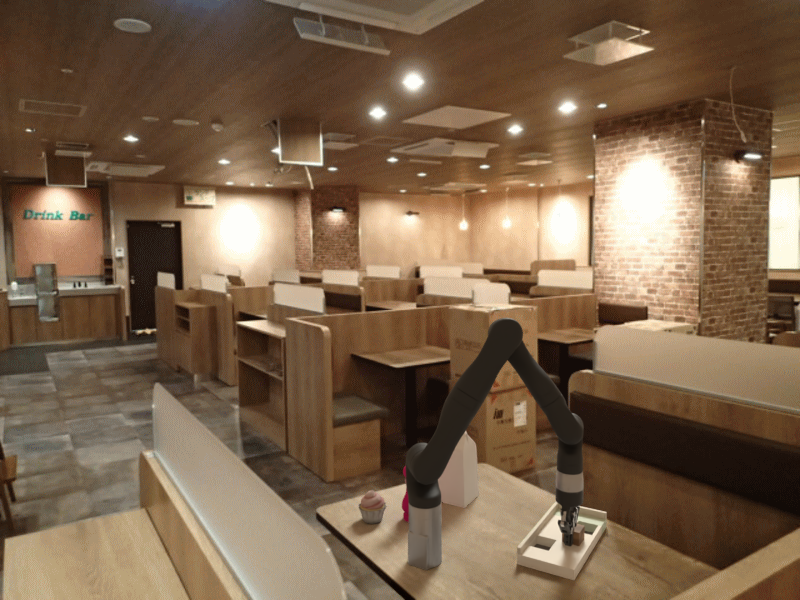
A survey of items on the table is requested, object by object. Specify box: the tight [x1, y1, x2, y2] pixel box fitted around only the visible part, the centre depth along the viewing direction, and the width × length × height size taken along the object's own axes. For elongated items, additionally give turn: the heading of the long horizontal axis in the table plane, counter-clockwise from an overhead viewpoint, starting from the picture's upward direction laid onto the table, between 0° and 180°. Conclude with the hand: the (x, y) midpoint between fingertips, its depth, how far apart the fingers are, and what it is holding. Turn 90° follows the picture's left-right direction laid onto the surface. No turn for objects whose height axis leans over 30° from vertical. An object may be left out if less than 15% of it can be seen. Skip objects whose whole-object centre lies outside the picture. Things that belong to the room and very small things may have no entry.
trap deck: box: [516, 500, 608, 581], centre depth 183 cm, size 34×16×5 cm, turn 148°
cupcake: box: [358, 489, 388, 525], centre depth 201 cm, size 9×9×10 cm
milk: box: [438, 430, 480, 509], centre depth 215 cm, size 12×12×26 cm
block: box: [562, 524, 585, 546], centre depth 180 cm, size 5×5×4 cm
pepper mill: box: [401, 465, 409, 523], centre depth 201 cm, size 7×7×20 cm
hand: (568, 544), depth 176 cm, fingers closed
